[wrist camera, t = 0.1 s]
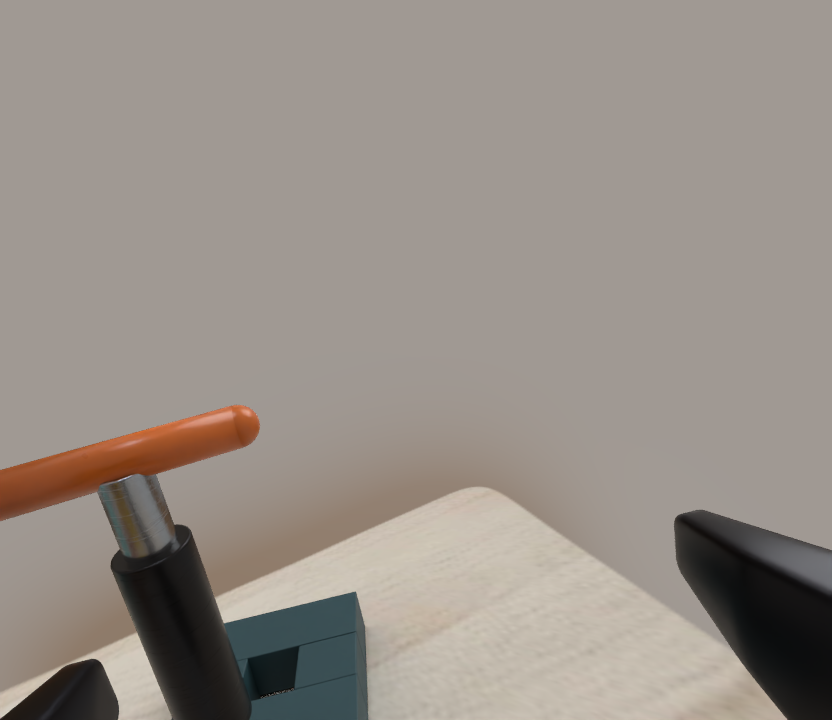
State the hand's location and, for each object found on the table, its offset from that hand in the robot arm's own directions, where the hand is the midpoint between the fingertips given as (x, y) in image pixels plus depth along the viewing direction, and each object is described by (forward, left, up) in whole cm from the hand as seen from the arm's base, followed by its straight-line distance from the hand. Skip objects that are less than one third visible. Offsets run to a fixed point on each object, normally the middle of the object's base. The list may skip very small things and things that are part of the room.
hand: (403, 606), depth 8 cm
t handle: (+9, +8, -17) cm, 20 cm away
